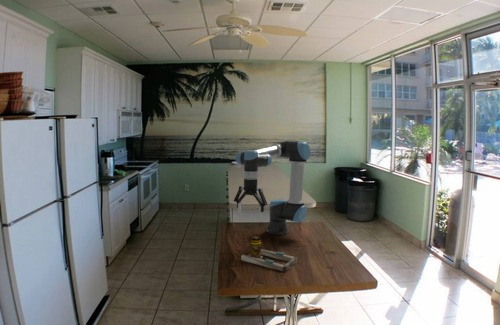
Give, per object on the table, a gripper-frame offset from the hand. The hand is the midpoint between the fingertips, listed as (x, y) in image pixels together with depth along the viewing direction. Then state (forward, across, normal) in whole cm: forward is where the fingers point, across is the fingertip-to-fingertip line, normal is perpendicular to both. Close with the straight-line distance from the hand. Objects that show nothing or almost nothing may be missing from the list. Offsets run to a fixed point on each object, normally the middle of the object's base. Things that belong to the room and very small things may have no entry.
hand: (249, 215), depth 179 cm
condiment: (+24, +3, +1) cm, 24 cm away
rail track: (+24, +12, 0) cm, 27 cm away
